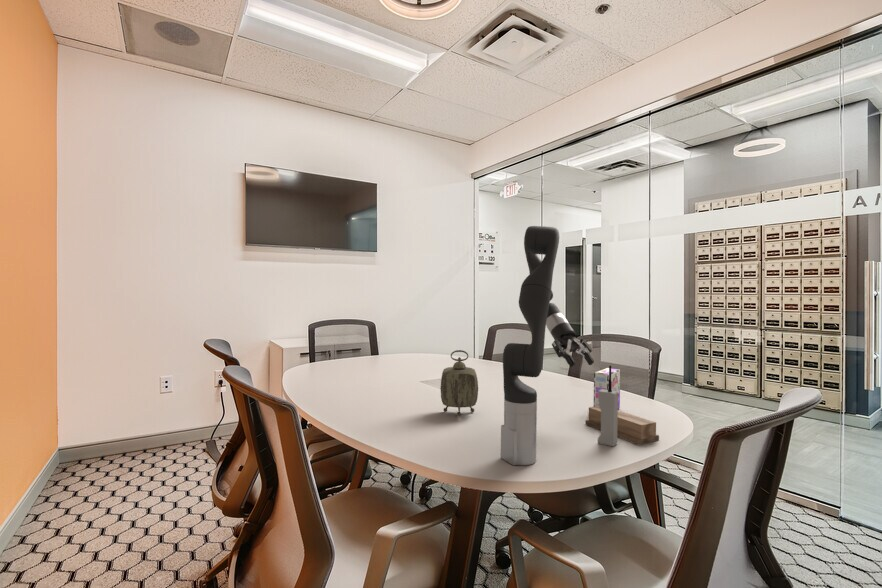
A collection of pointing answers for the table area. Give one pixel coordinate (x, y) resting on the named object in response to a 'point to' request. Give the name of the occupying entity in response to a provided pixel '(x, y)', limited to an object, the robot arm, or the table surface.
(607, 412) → the vintage mobile phone
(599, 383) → the candy box
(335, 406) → the table surface
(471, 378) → the tabletop clock
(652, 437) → the walnut ridge
